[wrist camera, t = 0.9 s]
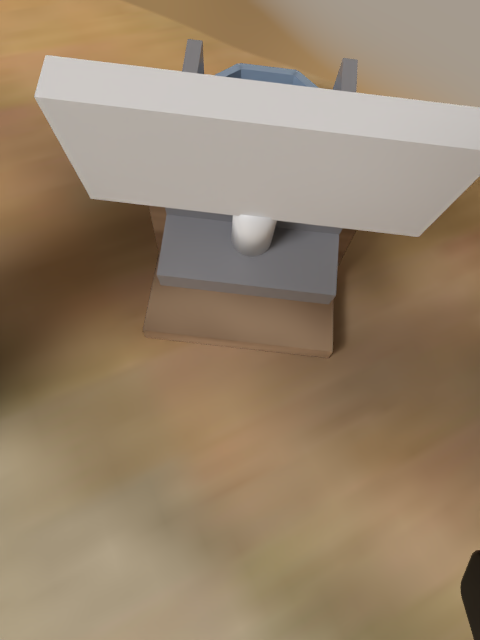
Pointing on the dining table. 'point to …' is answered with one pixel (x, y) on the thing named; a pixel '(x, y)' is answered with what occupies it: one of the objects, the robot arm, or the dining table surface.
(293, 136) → the tipper
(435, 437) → the dining table surface
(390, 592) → the dining table surface
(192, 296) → the stand
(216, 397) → the dining table surface
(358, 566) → the dining table surface
